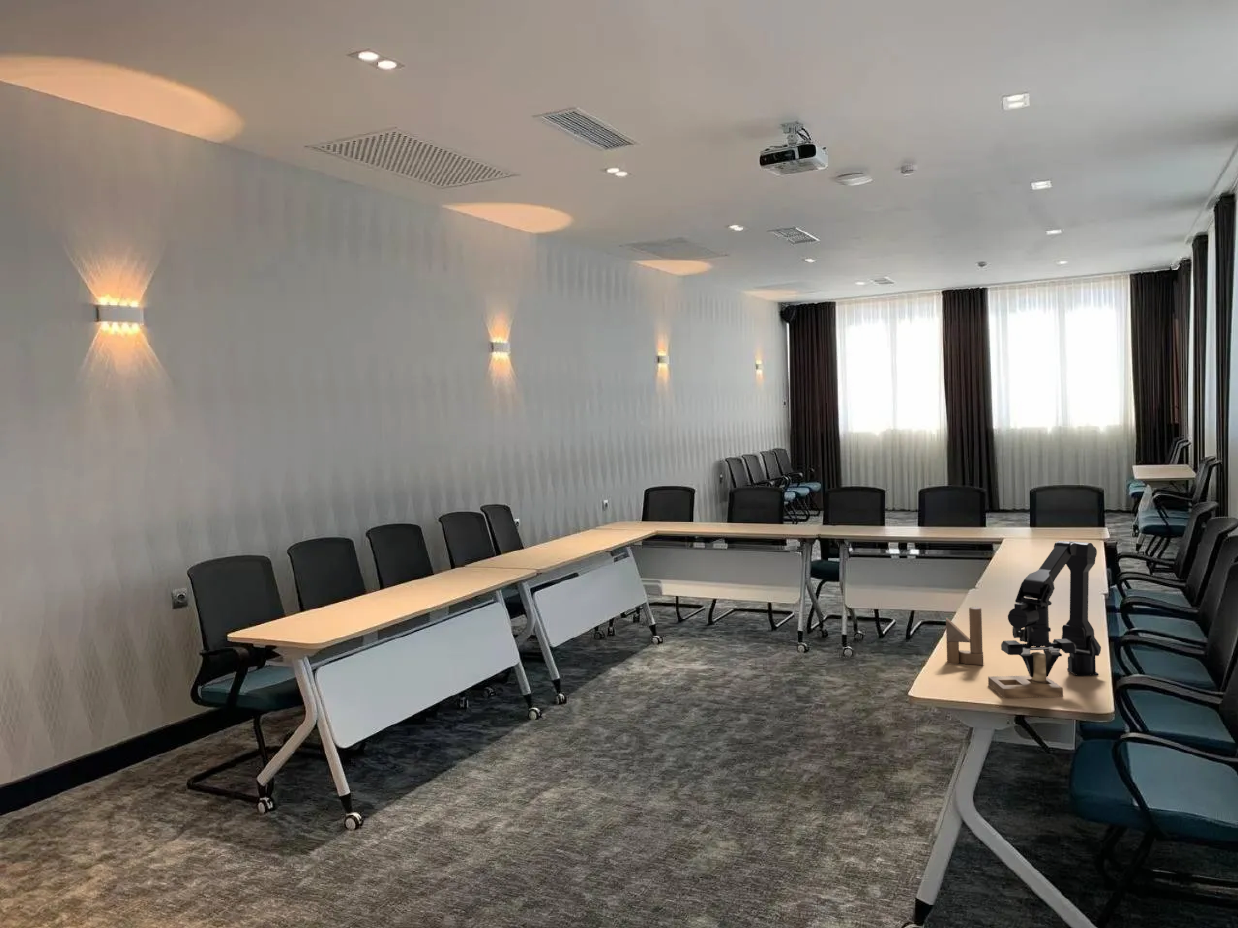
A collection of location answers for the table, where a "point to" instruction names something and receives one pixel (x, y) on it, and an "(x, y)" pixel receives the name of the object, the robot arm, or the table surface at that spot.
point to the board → (1023, 687)
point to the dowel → (1039, 668)
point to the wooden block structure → (965, 640)
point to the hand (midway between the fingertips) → (1038, 676)
